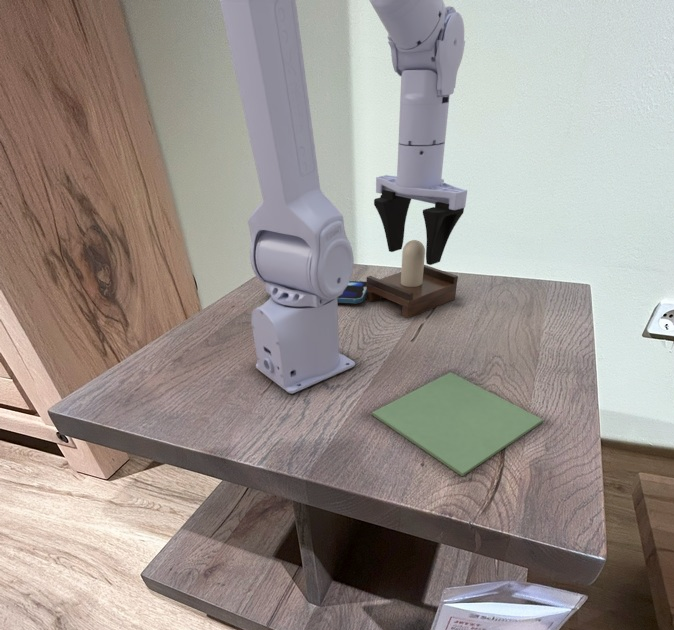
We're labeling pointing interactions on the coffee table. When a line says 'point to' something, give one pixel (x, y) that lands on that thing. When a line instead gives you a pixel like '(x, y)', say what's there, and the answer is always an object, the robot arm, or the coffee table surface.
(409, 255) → the beige rounded peg
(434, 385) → the mat
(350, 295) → the smartphone
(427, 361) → the coffee table surface
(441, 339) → the coffee table surface
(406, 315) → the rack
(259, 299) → the coffee table surface
